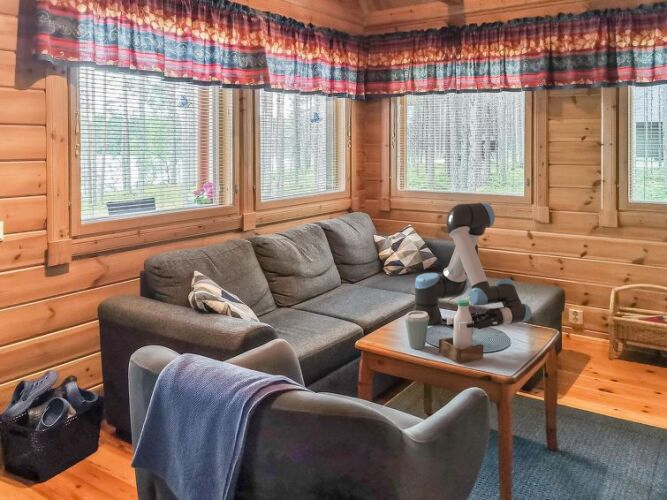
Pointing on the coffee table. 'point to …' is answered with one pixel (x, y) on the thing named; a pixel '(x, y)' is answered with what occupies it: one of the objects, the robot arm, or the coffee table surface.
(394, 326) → the coffee table surface
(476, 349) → the wooden open tray
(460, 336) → the milk bottle
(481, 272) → the robot arm
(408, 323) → the disposable coffee cup
